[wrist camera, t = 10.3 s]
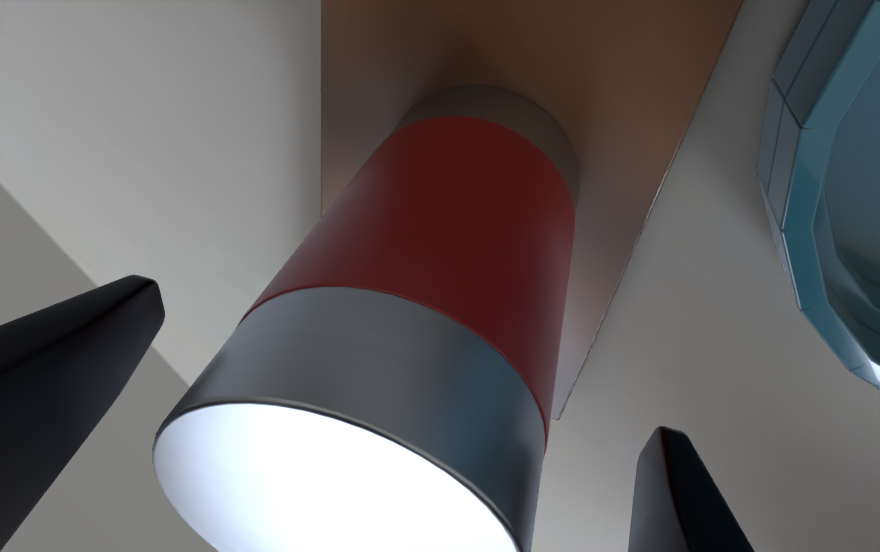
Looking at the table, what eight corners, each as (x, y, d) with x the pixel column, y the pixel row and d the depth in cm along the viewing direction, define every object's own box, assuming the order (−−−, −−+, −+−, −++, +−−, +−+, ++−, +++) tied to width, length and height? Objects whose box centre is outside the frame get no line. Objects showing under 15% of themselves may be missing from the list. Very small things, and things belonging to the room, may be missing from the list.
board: (561, 395, 21) (558, 421, 20) (332, 329, 22) (319, 351, 21) (815, -199, 10) (834, -202, 9) (344, -275, 11) (319, -285, 10)
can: (550, 282, 17) (485, 666, 9) (379, 236, 17) (180, 560, 10) (608, 110, 13) (584, 490, 6) (393, 61, 14) (105, 344, 6)
